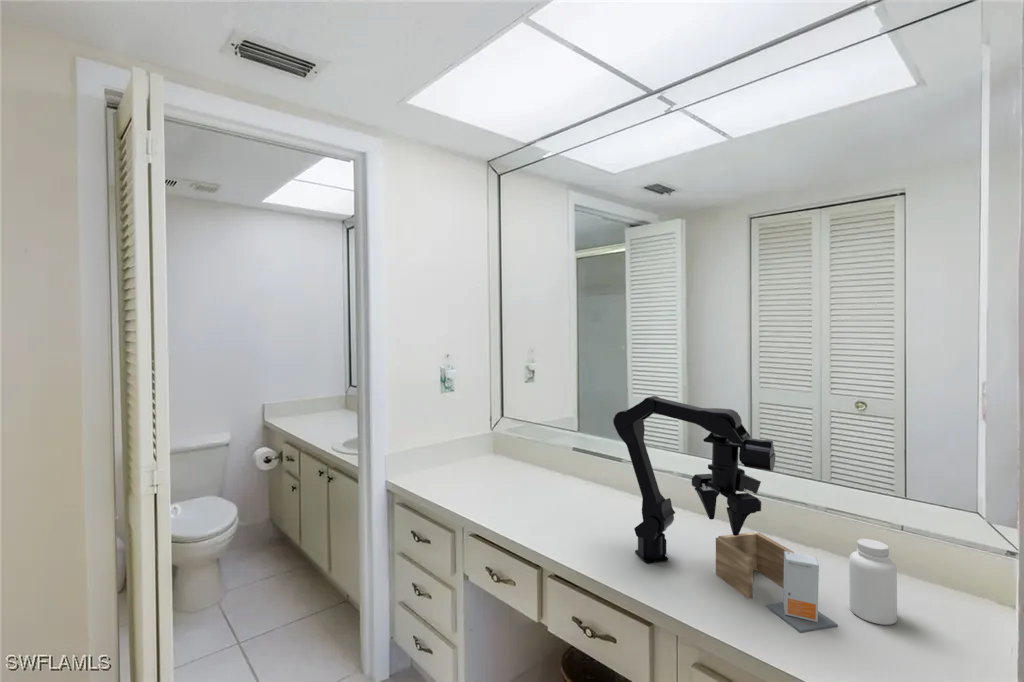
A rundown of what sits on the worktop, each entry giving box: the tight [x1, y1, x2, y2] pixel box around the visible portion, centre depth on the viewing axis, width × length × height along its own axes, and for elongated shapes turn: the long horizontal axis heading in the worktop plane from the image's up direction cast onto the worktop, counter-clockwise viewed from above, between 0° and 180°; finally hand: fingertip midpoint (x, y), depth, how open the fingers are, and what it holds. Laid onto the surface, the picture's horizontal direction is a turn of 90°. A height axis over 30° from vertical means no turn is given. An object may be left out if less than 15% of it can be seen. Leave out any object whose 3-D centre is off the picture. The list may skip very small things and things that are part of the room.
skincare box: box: [782, 551, 820, 622], centre depth 99 cm, size 6×4×12 cm
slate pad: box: [765, 602, 838, 633], centre depth 99 cm, size 9×9×1 cm
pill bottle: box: [848, 538, 898, 626], centre depth 99 cm, size 8×8×15 cm
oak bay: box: [715, 531, 795, 600], centre depth 112 cm, size 12×12×9 cm
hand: (723, 527), depth 114 cm, fingers open, 9 cm apart
